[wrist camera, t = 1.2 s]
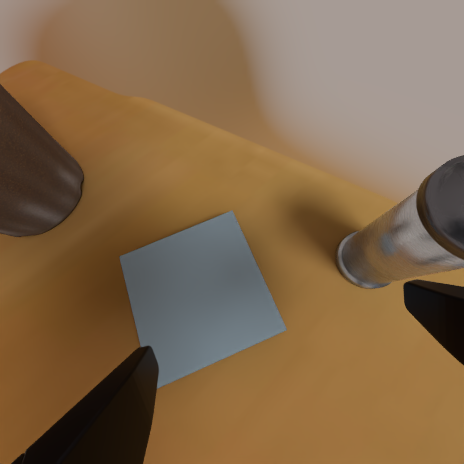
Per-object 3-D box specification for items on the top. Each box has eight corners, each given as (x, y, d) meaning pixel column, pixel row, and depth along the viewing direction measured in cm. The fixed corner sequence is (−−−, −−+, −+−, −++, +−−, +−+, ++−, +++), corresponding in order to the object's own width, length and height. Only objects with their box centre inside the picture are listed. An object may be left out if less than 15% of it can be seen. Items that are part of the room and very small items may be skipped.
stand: (282, 327, 22) (286, 329, 19) (164, 380, 21) (151, 391, 18) (234, 221, 26) (232, 210, 23) (134, 262, 25) (119, 256, 22)
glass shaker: (403, 284, 22) (597, 252, 10) (344, 292, 22) (462, 271, 10) (383, 229, 24) (522, 146, 12) (328, 237, 24) (411, 163, 12)
